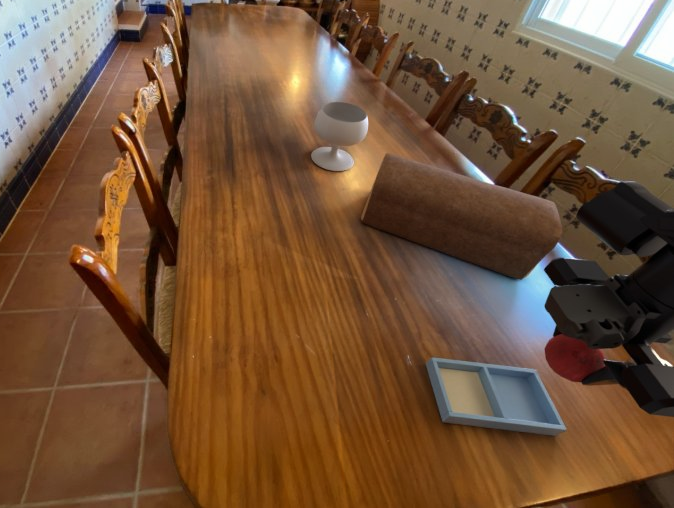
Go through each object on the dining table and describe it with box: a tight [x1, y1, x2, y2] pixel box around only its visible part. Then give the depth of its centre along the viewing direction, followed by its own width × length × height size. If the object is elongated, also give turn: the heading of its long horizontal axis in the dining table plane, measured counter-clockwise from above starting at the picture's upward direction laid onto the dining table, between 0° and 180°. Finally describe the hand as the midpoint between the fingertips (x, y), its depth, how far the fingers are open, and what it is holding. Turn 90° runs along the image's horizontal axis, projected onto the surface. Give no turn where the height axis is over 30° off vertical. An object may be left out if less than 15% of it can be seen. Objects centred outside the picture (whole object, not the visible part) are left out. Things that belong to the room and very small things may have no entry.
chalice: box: [310, 101, 369, 172], centre depth 97 cm, size 14×14×15 cm
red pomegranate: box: [544, 334, 606, 383], centre depth 47 cm, size 6×6×8 cm
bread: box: [360, 152, 563, 281], centre depth 77 cm, size 14×34×14 cm, turn 63°
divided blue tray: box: [425, 356, 568, 437], centre depth 54 cm, size 8×16×2 cm, turn 85°
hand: (570, 359), depth 47 cm, fingers closed on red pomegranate, 6 cm apart
